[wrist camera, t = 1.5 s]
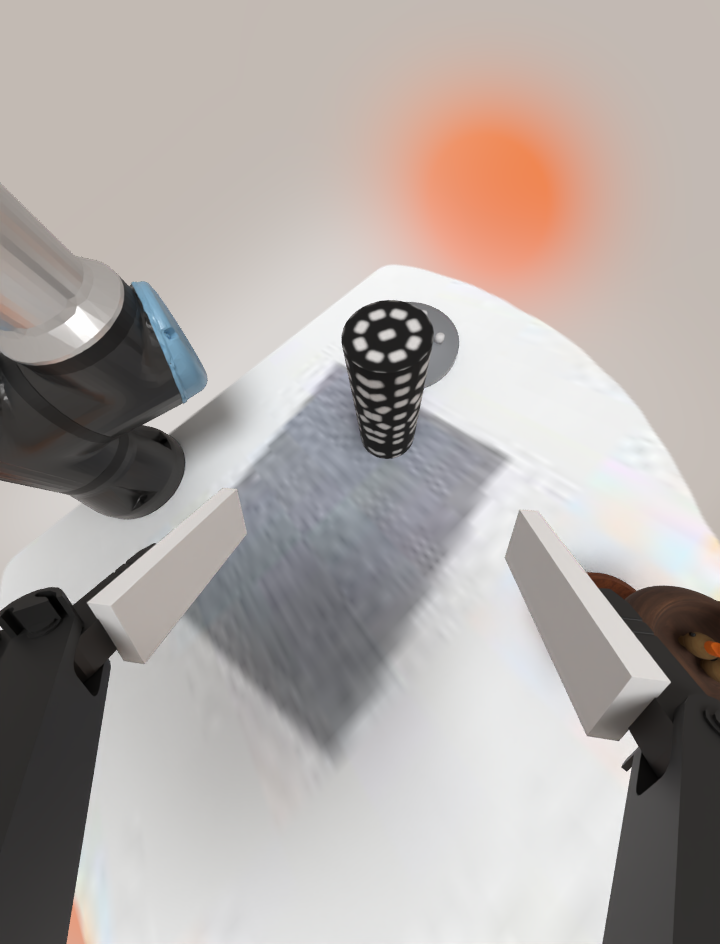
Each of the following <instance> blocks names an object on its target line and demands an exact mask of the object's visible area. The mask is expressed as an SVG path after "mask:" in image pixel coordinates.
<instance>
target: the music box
mask: <svg viewBox="0 0 720 944" xmlns="http://www.w3.org/2000/svg"><path fill="white" fill-rule="evenodd" d="M586 573H587V574H588V576H589V577H590V578H591V580H592V581H593V582H594V583H595V585H596V586H597V587H598V588H605V589H611V590H613V591H614V592H615V593H616V594H618V595H619V596H620V597H622V598H623V599H624V600H625V601H627V602H628V603H629V604H630V605H631V606H632V607H633V609H634V610H635V611H636V612H637V613H638V614H639V616H640V617H641V618H642V621H643V622H645V623H646V624H647V625H648V626H649V627H650V629H651V630H652V631H653V632H654V635H655V636H657V637H658V638H659V639H660V640H661V642H662V643H663V644H664V645H665V646H666V647H667V649H668V650H669V651H670V652H671V653H672V655H673V656H674V657H675V658H676V659H677V660H678V662H679V663H680V664H681V665H682V666H683V668H684V669H685V670H686V671H687V672H688V673H689V675H690V676H691V677H692V678H693V679H694V681H695V682H696V683H697V684H698V685H699V686H700V688H701V689H702V690H703V691H704V692H705V693H706V694H707V695H708V696H710V697H713V698H715V699H717V700H719V701H720V601H716V600H714V599H712V598H710V597H708V596H706V595H703V594H701V593H698V592H696V591H693V590H689V589H685V588H681V587H675V586H652V587H647V588H644V589H641V590H638V591H636V590H635V589H633V588H632V587H631V586H630V585H628V584H627V583H625V582H623V581H622V580H620V579H618V578H616V577H613V576H610V575H607V574H602V573H590V572H586Z"/></svg>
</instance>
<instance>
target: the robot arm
mask: <svg viewBox="0 0 720 944" xmlns="http://www.w3.org/2000/svg"><path fill="white" fill-rule="evenodd" d="M206 384H207V374H206V372H205V369H204V367H203V365H202V364H201V362H200V360H199V358H198V356H197V355H196V353H195V351H194V349H193V348H192V346H191V344H190V343H189V341H188V339H187V338H186V336H185V334H184V333H183V331H182V330H181V328H180V327H179V325H178V323H177V322H176V320H175V319H174V317H173V316H172V314H171V313H170V311H169V310H168V308H167V307H166V305H165V304H164V302H163V301H162V299H161V298H160V297H159V295H158V294H157V292H156V291H155V290H154V289H153V288H152V287H151V286H150V285H149V284H148V283H147V282H142V281H141V282H132V284H131V285H130V286H128V285H127V284H126V283H125V282H124V281H123V280H122V279H121V278H120V276H119V275H118V274H117V273H116V272H115V271H114V270H112V269H111V268H110V267H109V266H108V265H106V264H104V263H102V262H100V261H97V260H93V259H88V258H83V257H78V256H75V255H73V254H72V253H71V252H70V251H69V250H68V249H67V248H66V247H65V246H64V245H63V244H62V243H61V242H60V241H59V240H58V239H57V238H56V237H55V236H54V235H53V234H52V233H51V232H50V231H49V230H48V229H47V228H46V227H45V226H44V225H43V224H42V223H41V222H39V221H38V219H37V218H36V217H34V216H33V214H31V213H30V212H29V211H28V210H27V209H26V208H25V207H24V206H23V205H22V204H21V203H20V202H19V201H18V200H17V199H16V198H15V197H14V196H13V195H12V194H11V193H10V192H9V191H8V190H7V189H6V188H5V187H4V186H3V185H2V184H1V183H0V480H2V481H6V482H11V483H16V484H20V485H25V486H30V487H35V488H40V489H45V490H49V491H54V492H59V493H63V494H67V495H70V496H72V497H73V498H75V499H77V500H78V501H80V502H82V503H83V504H85V505H87V506H88V507H90V508H92V509H93V510H95V511H97V512H98V513H100V514H103V515H106V516H110V517H115V518H121V519H134V518H139V517H142V516H145V515H147V514H150V513H152V512H153V511H155V510H156V509H158V508H159V507H161V506H162V505H163V504H164V503H165V502H166V501H167V500H168V499H169V498H170V497H171V496H172V495H173V493H174V492H175V490H176V489H177V487H178V485H179V483H180V481H181V479H182V476H183V472H184V463H185V462H184V454H183V451H182V448H181V446H180V445H179V443H178V442H177V441H176V440H175V439H174V438H172V437H171V436H169V435H168V434H166V433H164V432H163V431H161V430H158V429H156V428H153V427H148V426H144V425H143V424H145V423H147V422H149V421H150V420H152V419H154V418H156V417H158V416H160V415H162V414H163V413H165V412H167V411H169V410H171V409H173V408H175V407H177V406H178V405H180V404H182V403H185V402H187V400H188V399H189V398H190V397H192V396H194V395H195V394H197V393H198V392H200V391H202V390H203V389H204V387H205V386H206ZM246 534H247V531H246V527H245V522H244V518H243V514H242V509H241V505H240V500H239V496H238V491H237V489H229V488H222V489H221V490H220V491H218V492H217V493H216V494H215V495H214V496H212V497H211V498H210V499H209V500H208V501H207V502H205V503H204V504H203V505H202V506H201V507H199V508H198V509H197V510H196V511H195V512H194V513H192V514H191V515H190V516H189V517H188V518H186V519H185V520H184V521H183V522H182V523H181V524H179V525H178V526H177V527H176V528H175V529H173V530H172V531H171V532H170V533H169V534H168V535H166V536H165V537H164V538H163V539H162V540H160V541H159V542H158V543H157V544H156V543H153V544H152V545H150V546H148V547H146V548H144V549H142V550H141V551H139V552H137V553H136V554H135V555H134V556H133V557H131V558H130V559H129V560H128V561H126V564H123V565H122V566H120V567H119V568H118V569H117V570H116V572H115V573H112V574H111V575H109V576H108V577H107V578H106V579H104V580H103V581H102V582H101V583H100V584H98V585H97V586H96V587H95V588H93V589H92V590H91V591H90V592H89V593H87V594H86V595H85V596H84V597H82V598H81V599H80V600H79V601H78V602H76V603H75V604H74V605H72V604H71V602H70V601H69V599H68V598H67V597H66V595H65V594H64V592H63V591H62V590H61V589H59V588H55V587H49V588H44V589H40V590H37V591H34V592H31V593H29V594H26V595H24V596H22V597H21V598H19V599H17V600H15V601H13V602H12V603H10V604H9V605H8V606H6V607H5V608H4V609H2V610H1V611H0V626H1V627H2V629H3V630H0V944H66V942H67V936H68V930H69V924H70V917H71V911H72V905H73V899H74V893H75V886H76V880H77V874H78V868H79V862H80V855H81V849H82V843H83V837H84V830H85V824H86V818H87V812H88V806H89V799H90V793H91V787H92V781H93V775H94V768H95V762H96V756H97V750H98V743H99V737H100V731H101V725H102V719H103V712H104V706H105V700H106V694H107V687H108V681H109V675H110V669H111V665H110V661H109V659H108V658H109V657H110V656H111V655H112V654H113V653H114V652H115V651H116V650H117V651H118V653H119V654H120V656H121V657H122V659H123V660H124V661H129V662H135V663H141V664H145V663H146V662H147V660H148V659H149V658H150V657H151V655H152V654H153V653H154V652H155V650H156V649H157V648H158V646H159V645H160V644H161V643H162V641H163V640H164V639H165V638H166V636H167V635H168V634H169V632H170V631H171V630H172V629H173V627H174V626H175V625H176V624H177V622H178V621H179V620H180V618H181V617H182V616H183V615H184V613H185V612H186V611H187V610H188V608H189V607H190V606H191V604H192V603H193V602H194V601H195V599H196V598H197V597H198V596H199V594H200V593H201V592H202V590H203V589H204V588H205V587H206V585H207V584H208V583H209V581H210V580H211V579H212V578H213V576H214V575H215V574H216V573H217V571H218V570H219V569H220V567H221V566H222V565H223V564H224V562H225V561H226V560H227V559H228V557H229V556H230V555H231V553H232V552H233V551H234V550H235V548H236V547H237V546H238V545H239V543H240V542H241V541H242V539H243V538H244V537H245V536H246ZM505 559H506V561H507V564H508V566H509V568H510V570H511V572H512V574H513V577H514V579H515V581H516V583H517V585H518V587H519V590H520V592H521V594H522V596H523V598H524V600H525V603H526V605H527V607H528V609H529V611H530V614H531V616H532V618H533V620H534V622H535V624H536V627H537V629H538V631H539V633H540V635H541V637H542V640H543V642H544V644H545V646H546V648H547V650H548V653H549V655H550V657H551V659H552V661H553V663H554V666H555V668H556V670H557V672H558V674H559V676H560V679H561V681H562V683H563V685H564V687H565V689H566V692H567V694H568V696H569V698H570V700H571V702H572V705H573V707H574V709H575V711H576V713H577V715H578V718H579V720H580V722H581V724H582V726H583V728H584V731H585V733H586V735H587V736H591V737H597V738H603V739H609V740H615V741H619V740H620V739H621V738H622V737H623V736H624V735H625V734H626V732H627V731H628V730H630V732H631V734H632V736H633V737H634V739H635V741H636V743H637V744H638V746H639V747H638V748H637V749H636V750H635V751H634V752H633V753H632V754H631V755H630V756H629V757H628V758H627V759H626V760H625V762H624V763H623V765H622V768H623V769H624V770H625V771H628V770H629V769H630V768H631V767H632V769H631V775H630V781H629V787H628V793H627V799H626V805H625V811H624V817H623V823H622V829H621V835H620V841H619V847H618V853H617V859H616V865H615V871H614V877H613V883H612V889H611V895H610V901H609V907H608V913H607V919H606V925H605V931H604V937H603V943H602V944H720V701H719V700H717V699H715V698H713V697H710V696H708V695H707V694H706V693H705V692H704V691H703V690H702V689H701V688H700V686H699V685H698V684H697V683H696V682H695V681H694V679H693V678H692V677H691V676H690V675H689V673H688V672H687V671H686V670H685V669H684V668H683V666H682V665H681V664H680V663H679V662H678V660H677V659H676V658H675V657H674V656H673V655H672V653H671V652H670V651H669V650H668V649H667V647H666V646H665V645H664V644H663V643H662V642H661V640H660V639H659V638H658V637H657V636H655V635H654V632H653V631H652V630H651V629H650V627H649V626H648V625H647V624H646V623H645V622H643V621H642V618H641V617H640V616H639V614H638V613H637V612H636V611H635V610H634V609H633V607H632V606H631V605H630V604H629V603H628V602H627V601H625V600H624V599H623V598H622V597H620V596H619V595H618V594H616V593H615V592H614V591H613V590H611V589H605V588H598V587H597V586H596V585H595V583H594V582H593V581H592V580H591V578H590V577H589V576H588V574H587V573H586V572H585V571H584V569H583V568H582V567H581V565H580V564H579V563H578V561H577V560H576V559H575V558H574V556H573V555H572V554H571V552H570V551H569V550H568V549H567V547H566V546H565V545H564V543H563V542H562V541H561V540H560V538H559V537H558V536H557V534H556V533H555V532H554V531H553V529H552V528H551V527H550V525H549V524H548V523H547V522H546V520H545V519H544V518H543V516H542V515H541V514H540V512H539V511H532V510H519V513H518V516H517V519H516V523H515V526H514V529H513V532H512V536H511V539H510V542H509V546H508V549H507V552H506V555H505Z"/></svg>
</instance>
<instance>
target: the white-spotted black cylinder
mask: <svg viewBox="0 0 720 944" xmlns="http://www.w3.org/2000/svg"><path fill="white" fill-rule="evenodd" d="M433 339H434V330H433V325H432V323H431V321H430V319H429V318H428V316H427V315H426V314H425V313H424V312H423V311H422V310H421V309H419V308H418V307H416V306H414V305H412V304H409V303H406V302H402V301H396V300H386V301H379V302H375V303H371V304H369V305H367V306H364V307H363V308H361V309H359V310H358V311H356V312H355V313H354V314H353V315H352V316H351V317H350V318H349V320H348V321H347V322H346V324H345V326H344V328H343V332H342V347H343V352H344V356H345V361H346V366H347V371H348V376H349V381H350V386H351V390H352V395H353V400H354V405H355V410H356V415H357V420H358V424H359V429H360V434H361V439H362V443H363V445H364V447H365V448H366V449H367V451H368V452H370V453H371V454H372V455H374V456H376V457H379V458H385V459H389V458H395V457H398V456H400V455H402V454H403V453H405V452H406V451H407V450H408V449H409V448H410V446H411V444H412V442H413V439H414V434H415V429H416V424H417V419H418V414H419V409H420V404H421V399H422V394H423V390H424V385H425V380H426V375H427V370H428V365H429V360H430V355H431V350H432V345H433Z"/></svg>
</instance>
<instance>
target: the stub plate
mask: <svg viewBox="0 0 720 944" xmlns="http://www.w3.org/2000/svg"><path fill="white" fill-rule="evenodd" d="M406 303H409V304H412V305H414V306H416V307H418V308H419V309H421V310H422V311H423V312H424V313H425V314H426V315H427V316H428V318H429V319H430V321H431V323H432V325H433V330H434V339H433V345H432V350H431V355H430V360H429V365H428V370H427V375H426V380H425V385H424V388H426V387H428V386H431V385H432V384H434V383H436V382H438V381H439V380H440V379H442V378H443V377H444V376H445V375H446V374H447V373H448V372H449V370H450V369H451V367H452V366H453V364H454V362H455V359H456V356H457V353H458V349H459V336H458V332H457V329H456V327H455V325H454V324H453V322H452V321H451V320H450V319H449V318H448V316H446V315H445V314H444V313H443V312H441V311H440V310H438V309H436V308H434V307H432V306H429V305H426V304H422V303H415V302H406Z"/></svg>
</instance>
